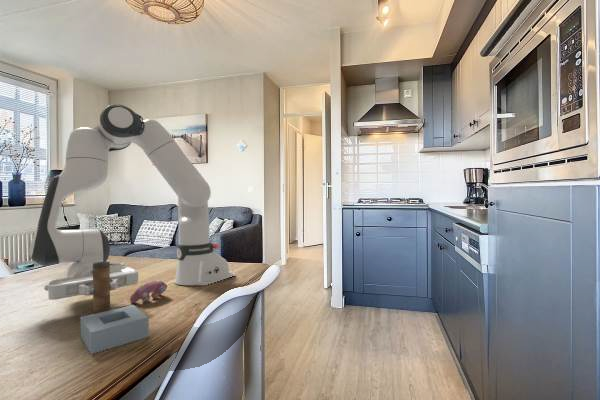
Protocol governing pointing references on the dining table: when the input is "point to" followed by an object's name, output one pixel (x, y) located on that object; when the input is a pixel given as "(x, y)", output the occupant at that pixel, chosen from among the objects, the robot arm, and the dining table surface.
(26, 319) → the dining table surface
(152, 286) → the video game controller
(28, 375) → the dining table surface
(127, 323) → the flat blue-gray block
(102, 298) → the walnut dowel
